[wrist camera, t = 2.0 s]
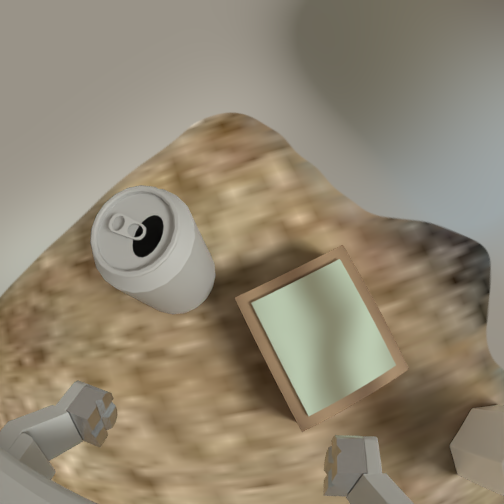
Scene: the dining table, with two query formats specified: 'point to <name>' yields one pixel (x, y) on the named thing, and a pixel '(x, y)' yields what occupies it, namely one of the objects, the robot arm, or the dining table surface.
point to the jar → (481, 448)
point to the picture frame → (322, 337)
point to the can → (152, 249)
